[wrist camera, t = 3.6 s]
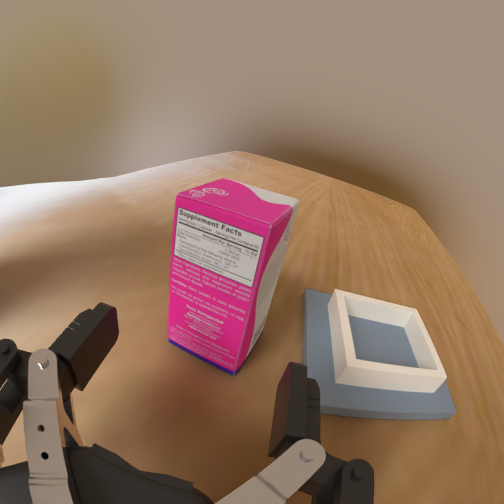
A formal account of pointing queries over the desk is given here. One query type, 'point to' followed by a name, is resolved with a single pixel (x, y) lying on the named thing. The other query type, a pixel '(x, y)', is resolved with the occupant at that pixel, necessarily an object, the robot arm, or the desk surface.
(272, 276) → the supplement box
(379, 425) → the desk surface
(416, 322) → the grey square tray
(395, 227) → the desk surface
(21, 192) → the desk surface
